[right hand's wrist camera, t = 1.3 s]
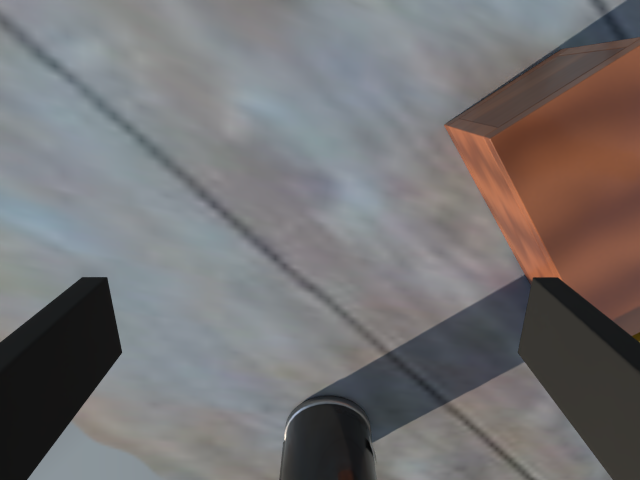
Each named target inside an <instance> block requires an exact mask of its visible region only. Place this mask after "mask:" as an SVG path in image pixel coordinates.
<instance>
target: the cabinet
mask: <svg viewBox="0 0 640 480" xmlns="http://www.w3.org/2000/svg"><path fill="white" fill-rule="evenodd" d="M444 126H445V128H446V129H447V131H448V133H449V135H450V137H451V139H452V141H453V142H454V144H455V146H456V148H457V150H458V152H459V153H460V155H461V157H462V159H463V161H464V163H465V165H466V166H467V168H468V170H469V172H470V174H471V176H472V177H473V179H474V181H475V183H476V185H477V187H478V189H479V190H480V192H481V194H482V196H483V198H484V200H485V201H486V203H487V205H488V207H489V209H490V211H491V213H492V214H493V216H494V218H495V220H496V222H497V224H498V225H499V227H500V229H501V231H502V233H503V235H504V237H505V238H506V240H507V242H508V244H509V246H510V248H511V249H512V251H513V253H514V255H515V257H516V259H517V261H518V262H519V264H520V266H521V268H522V270H523V272H524V273H525V275H526V277H527V279H528V281H529V283H530V285H531V284H532V279H533V277H558V278H559V279H560V280H562V281H563V282H564V283H566V284H567V285H568V286H569V287H571V288H572V289H573V290H574V291H576V292H577V293H578V294H579V295H581V296H582V297H583V298H584V299H586V300H587V301H588V302H589V303H591V304H592V305H593V306H594V307H596V308H597V309H598V310H599V311H601V312H602V313H603V314H605V315H606V316H607V317H608V318H610V319H611V320H612V321H613V322H615V323H616V324H617V325H618V326H620V327H621V328H622V329H623V330H625V331H626V332H627V333H628V334H630V335H631V336H633V335H635V334H637V333H639V332H640V37H638V38H631V39H625V40H618V41H612V42H606V43H599V44H593V45H586V46H580V47H573V48H566V49H561V50H560V51H558V52H556V53H555V54H553V55H552V56H550V57H549V58H547V59H546V60H544V61H542V62H541V63H539V64H538V65H536V66H535V67H533V68H532V69H530V70H529V71H527V72H525V73H524V74H522V75H521V76H519V77H518V78H516V79H515V80H513V81H511V82H510V83H508V84H507V85H505V86H504V87H502V88H501V89H499V90H497V91H496V92H494V93H493V94H491V95H490V96H488V97H487V98H485V99H484V100H482V101H480V102H479V103H477V104H476V105H474V106H473V107H471V108H470V109H468V110H466V111H465V112H463V113H462V114H460V115H459V116H457V117H456V118H454V119H453V120H451V121H449V122H448V123H446V124H445V125H444Z"/></svg>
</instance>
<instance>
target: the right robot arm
mask: <svg viewBox="0 0 640 480" xmlns="http://www.w3.org/2000/svg"><path fill="white" fill-rule="evenodd" d="M121 353H122V349H121V344H120V339H119V334H118V329H117V324H116V319H115V314H114V309H113V304H112V299H111V294H110V289H109V284H108V279H107V277H82V278H81V279H79V280H78V281H77V282H76V283H74V284H73V285H72V286H71V287H69V288H68V289H67V290H66V291H64V292H63V293H62V294H61V295H59V296H58V297H57V298H56V299H54V300H53V301H52V302H51V303H49V304H48V305H47V306H46V307H44V308H43V309H42V310H41V311H39V312H38V313H37V314H35V315H34V316H33V317H32V318H30V319H29V320H28V321H27V322H25V323H24V324H23V325H22V326H20V327H19V328H18V329H17V330H15V331H14V332H13V333H12V334H10V335H9V336H8V337H7V338H5V339H4V340H3V341H2V342H0V480H27V479H28V478H29V476H30V475H31V474H32V472H33V471H34V470H35V468H36V467H37V466H38V464H39V463H40V462H41V460H42V459H43V458H44V456H45V455H46V454H47V452H48V451H49V450H50V448H51V447H52V446H53V444H54V443H55V442H56V440H57V439H58V438H59V436H60V435H61V434H62V432H63V431H64V430H65V428H66V427H67V425H68V424H69V423H70V422H71V420H72V419H73V418H74V416H75V415H76V414H77V412H78V411H79V410H80V408H81V407H82V406H83V404H84V403H85V402H86V400H87V399H88V398H89V396H90V395H91V394H92V392H93V391H94V390H95V388H96V387H97V386H98V384H99V383H100V382H101V380H102V379H103V378H104V376H105V375H106V373H107V372H108V371H109V369H110V368H111V367H112V365H113V364H114V363H115V361H116V360H117V359H118V357H119V356H120V355H121ZM518 353H519V355H520V356H521V357H522V359H523V360H524V361H525V363H526V364H527V365H528V367H529V368H530V369H531V371H532V372H533V373H534V375H535V376H536V378H537V379H538V380H539V382H540V383H541V384H542V386H543V387H544V388H545V390H546V391H547V392H548V394H549V395H550V396H551V398H552V399H553V400H554V402H555V403H556V404H557V406H558V407H559V408H560V410H561V411H562V412H563V414H564V415H565V416H566V418H567V419H568V420H569V422H570V423H571V424H572V426H573V427H574V428H575V430H576V431H577V432H578V434H579V435H580V436H581V438H582V439H583V440H584V442H585V443H586V444H587V446H588V447H589V448H590V450H591V451H592V452H593V454H594V455H595V456H596V458H597V459H598V460H599V462H600V463H601V464H602V466H603V467H604V468H605V470H606V471H607V472H608V474H609V475H610V476H611V478H612V479H613V480H640V342H638V341H637V340H636V339H635V338H633V337H632V336H631V335H630V334H628V333H627V332H626V331H625V330H623V329H622V328H621V327H620V326H618V325H617V324H616V323H615V322H613V321H612V320H611V319H610V318H608V317H607V316H606V315H605V314H603V313H602V312H601V311H599V310H598V309H597V308H596V307H594V306H593V305H592V304H591V303H589V302H588V301H587V300H586V299H584V298H583V297H582V296H581V295H579V294H578V293H577V292H576V291H574V290H573V289H572V288H571V287H569V286H568V285H567V284H566V283H564V282H563V281H562V280H560V279H559V278H558V277H533V279H532V284H531V289H530V294H529V299H528V304H527V309H526V314H525V319H524V324H523V329H522V334H521V339H520V344H519V349H518Z"/></svg>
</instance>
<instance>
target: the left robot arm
mask: <svg viewBox="0 0 640 480" xmlns="http://www.w3.org/2000/svg"><path fill="white" fill-rule="evenodd" d="M374 458H375V461H376V456H375V451H374V449H373V446H372V441H371V428H370V422H369V419H368V417H367V415H366V414H365V412H364V411H363V410H362V409H361V408H360V407H359V406H358V405H356V404H355V403H353V402H351V401H349V400H347V399H344V398H340V397H334V396H322V397H316V398H312V399H310V400H307V401H305V402H303V403H301V404H300V405H299V406H297V407H296V408H295V409H294V410H293V411H292V412H291V414H290V415H289V417H288V419H287V422H286V428H285V441H284V442H283V449H282V459H281V468H280V478H279V480H377V477H376V470H375V463H374ZM376 463H377V462H376Z"/></svg>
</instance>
